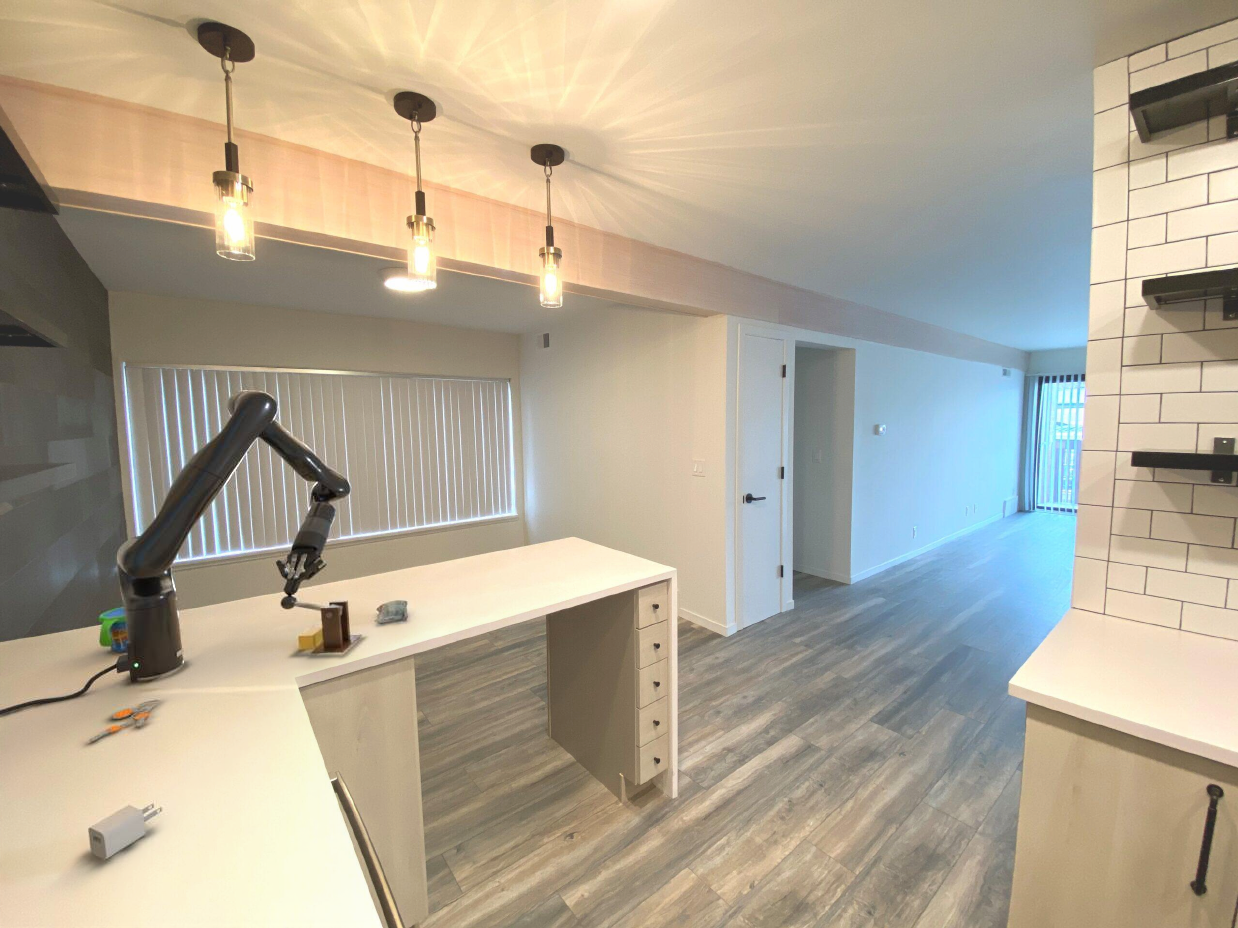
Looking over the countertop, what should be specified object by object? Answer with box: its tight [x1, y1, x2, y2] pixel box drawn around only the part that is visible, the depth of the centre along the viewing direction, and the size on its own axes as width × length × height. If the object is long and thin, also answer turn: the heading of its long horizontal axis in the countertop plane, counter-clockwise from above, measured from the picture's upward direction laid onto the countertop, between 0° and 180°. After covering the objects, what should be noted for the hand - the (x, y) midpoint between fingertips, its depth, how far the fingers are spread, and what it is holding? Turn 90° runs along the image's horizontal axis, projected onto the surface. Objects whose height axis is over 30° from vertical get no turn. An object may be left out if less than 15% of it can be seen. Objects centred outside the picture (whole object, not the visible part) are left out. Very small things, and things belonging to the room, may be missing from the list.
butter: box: [297, 626, 323, 651], centre depth 133 cm, size 5×8×5 cm, turn 2°
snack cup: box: [98, 606, 128, 653], centre depth 135 cm, size 16×10×10 cm
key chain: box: [88, 699, 161, 742], centre depth 102 cm, size 13×7×1 cm, turn 20°
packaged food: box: [374, 599, 408, 624], centre depth 151 cm, size 9×12×5 cm
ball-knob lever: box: [280, 594, 343, 615], centre depth 132 cm, size 15×4×4 cm, turn 92°
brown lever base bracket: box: [310, 600, 362, 654], centre depth 132 cm, size 8×10×12 cm
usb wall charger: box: [87, 803, 163, 860], centre depth 73 cm, size 4×7×4 cm, turn 159°
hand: (289, 593), depth 131 cm, fingers closed
